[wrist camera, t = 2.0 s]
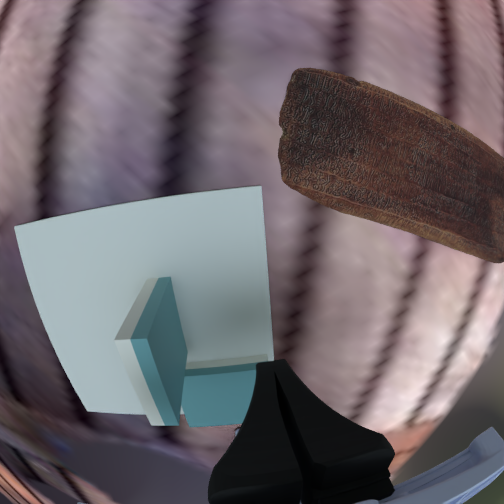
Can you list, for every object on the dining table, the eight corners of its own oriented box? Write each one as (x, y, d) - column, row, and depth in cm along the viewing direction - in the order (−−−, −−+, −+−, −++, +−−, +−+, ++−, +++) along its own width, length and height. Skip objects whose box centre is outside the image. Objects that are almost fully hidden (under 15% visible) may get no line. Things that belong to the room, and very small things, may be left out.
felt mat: (275, 401, 23) (276, 405, 23) (88, 408, 22) (87, 411, 21) (260, 185, 17) (261, 185, 17) (17, 225, 16) (14, 226, 16)
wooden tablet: (261, 195, 17) (304, 36, 13) (257, 187, 19) (296, 45, 15) (505, 270, 21) (536, 182, 17) (492, 261, 23) (521, 176, 19)
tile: (187, 351, 20) (179, 425, 13) (166, 353, 20) (151, 425, 13) (170, 276, 18) (146, 338, 12) (147, 279, 18) (114, 339, 11)
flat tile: (270, 405, 23) (273, 419, 21) (190, 413, 22) (189, 427, 21) (266, 354, 21) (270, 367, 19) (173, 363, 20) (171, 377, 19)
